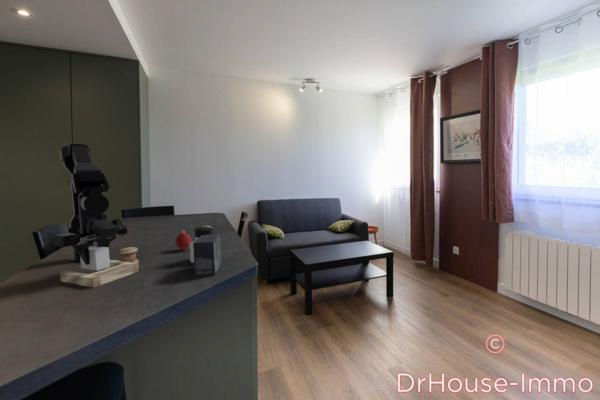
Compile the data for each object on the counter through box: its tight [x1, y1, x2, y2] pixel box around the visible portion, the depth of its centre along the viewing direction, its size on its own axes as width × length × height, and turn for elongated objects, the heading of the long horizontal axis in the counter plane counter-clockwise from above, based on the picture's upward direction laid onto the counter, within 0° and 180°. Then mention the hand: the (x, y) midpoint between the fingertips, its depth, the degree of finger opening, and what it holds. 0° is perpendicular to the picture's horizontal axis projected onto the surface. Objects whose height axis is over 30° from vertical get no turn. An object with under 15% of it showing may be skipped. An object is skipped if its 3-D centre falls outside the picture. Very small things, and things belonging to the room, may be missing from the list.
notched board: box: [59, 259, 140, 288], centre depth 88 cm, size 14×14×2 cm
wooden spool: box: [118, 246, 139, 264], centre depth 99 cm, size 6×6×5 cm
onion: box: [175, 230, 192, 251], centre depth 116 cm, size 6×6×8 cm
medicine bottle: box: [189, 225, 214, 264], centre depth 102 cm, size 7×7×12 cm
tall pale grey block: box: [80, 245, 110, 272], centre depth 88 cm, size 7×4×6 cm, turn 68°
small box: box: [192, 233, 223, 277], centre depth 92 cm, size 11×6×10 cm, turn 5°
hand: (95, 262), depth 88 cm, fingers closed on tall pale grey block, 4 cm apart
